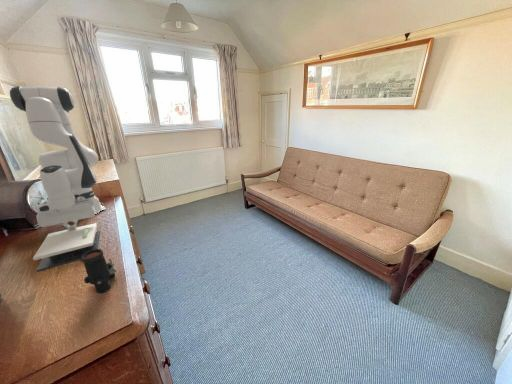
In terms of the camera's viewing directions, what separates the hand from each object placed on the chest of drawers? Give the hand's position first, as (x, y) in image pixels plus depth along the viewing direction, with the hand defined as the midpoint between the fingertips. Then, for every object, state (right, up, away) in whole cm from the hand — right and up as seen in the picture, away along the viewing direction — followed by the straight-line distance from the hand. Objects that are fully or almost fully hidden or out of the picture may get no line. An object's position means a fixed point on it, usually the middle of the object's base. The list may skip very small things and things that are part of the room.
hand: (73, 229), depth 100 cm
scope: (+35, -15, -28) cm, 47 cm away
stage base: (+5, -8, -6) cm, 11 cm away
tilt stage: (+5, -3, -7) cm, 9 cm away
